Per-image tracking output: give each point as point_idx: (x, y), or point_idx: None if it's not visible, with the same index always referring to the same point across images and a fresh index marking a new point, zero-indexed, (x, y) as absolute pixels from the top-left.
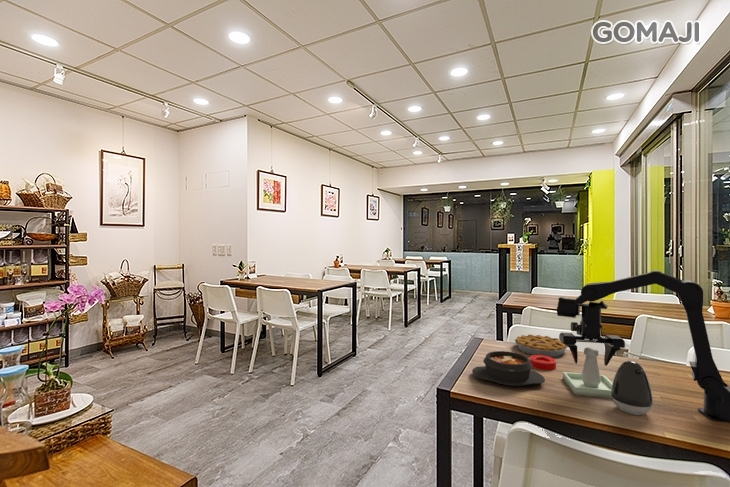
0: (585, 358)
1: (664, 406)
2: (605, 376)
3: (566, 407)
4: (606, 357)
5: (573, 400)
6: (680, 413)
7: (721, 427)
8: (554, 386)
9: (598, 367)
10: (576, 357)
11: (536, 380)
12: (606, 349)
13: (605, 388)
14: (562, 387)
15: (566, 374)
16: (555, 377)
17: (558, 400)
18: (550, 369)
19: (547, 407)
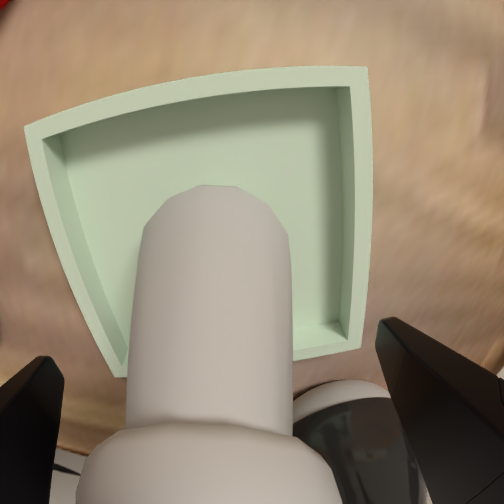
0: (129, 388)
1: (469, 318)
2: (368, 93)
3: (112, 434)
4: (423, 435)
5: (124, 396)
6: (474, 348)
7: (495, 374)
8: (26, 283)
9: (291, 339)
10: (45, 461)
11: None
12: (499, 500)
13: (305, 251)
14: (58, 283)
15: (44, 174)
16: (13, 127)
17: (78, 404)
18: (2, 4)
19: (68, 437)
